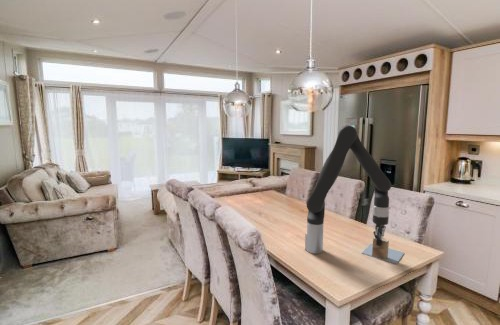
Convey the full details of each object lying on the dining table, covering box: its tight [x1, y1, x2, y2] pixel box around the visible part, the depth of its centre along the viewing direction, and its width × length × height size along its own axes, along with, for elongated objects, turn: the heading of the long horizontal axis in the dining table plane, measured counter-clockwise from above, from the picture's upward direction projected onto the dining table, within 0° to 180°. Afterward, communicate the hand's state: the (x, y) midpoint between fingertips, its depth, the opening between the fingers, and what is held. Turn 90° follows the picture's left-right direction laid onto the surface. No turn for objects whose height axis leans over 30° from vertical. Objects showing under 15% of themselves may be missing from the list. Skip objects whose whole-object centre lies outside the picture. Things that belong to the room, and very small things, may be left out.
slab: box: [371, 236, 390, 261], centre depth 145 cm, size 7×4×10 cm, turn 48°
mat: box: [361, 243, 405, 265], centre depth 150 cm, size 18×16×1 cm
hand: (378, 245), depth 142 cm, fingers closed
